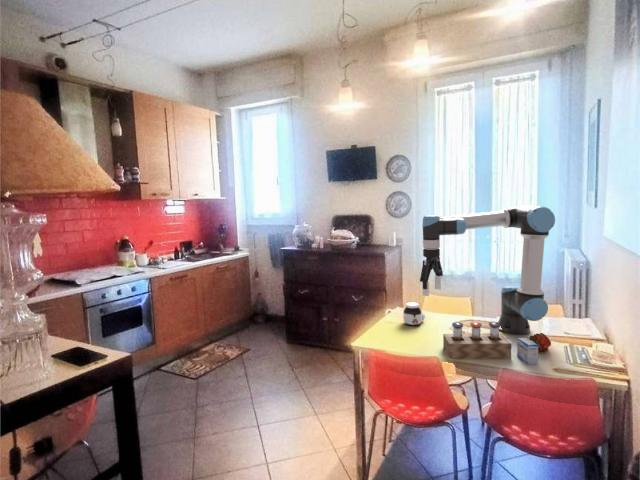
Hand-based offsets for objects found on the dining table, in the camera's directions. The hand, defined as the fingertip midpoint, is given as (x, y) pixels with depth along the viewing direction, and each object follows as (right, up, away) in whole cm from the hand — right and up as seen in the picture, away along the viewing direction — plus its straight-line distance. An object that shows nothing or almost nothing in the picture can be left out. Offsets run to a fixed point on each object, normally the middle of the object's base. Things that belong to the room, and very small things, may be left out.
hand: (431, 292), depth 182 cm
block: (+17, -26, -9) cm, 33 cm away
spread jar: (0, -22, +34) cm, 40 cm away
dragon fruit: (+46, -25, -9) cm, 53 cm away
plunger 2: (+17, -21, -10) cm, 29 cm away
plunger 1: (+9, -22, -9) cm, 25 cm away
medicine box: (+35, -27, -19) cm, 48 cm away
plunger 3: (+25, -21, -11) cm, 34 cm away
